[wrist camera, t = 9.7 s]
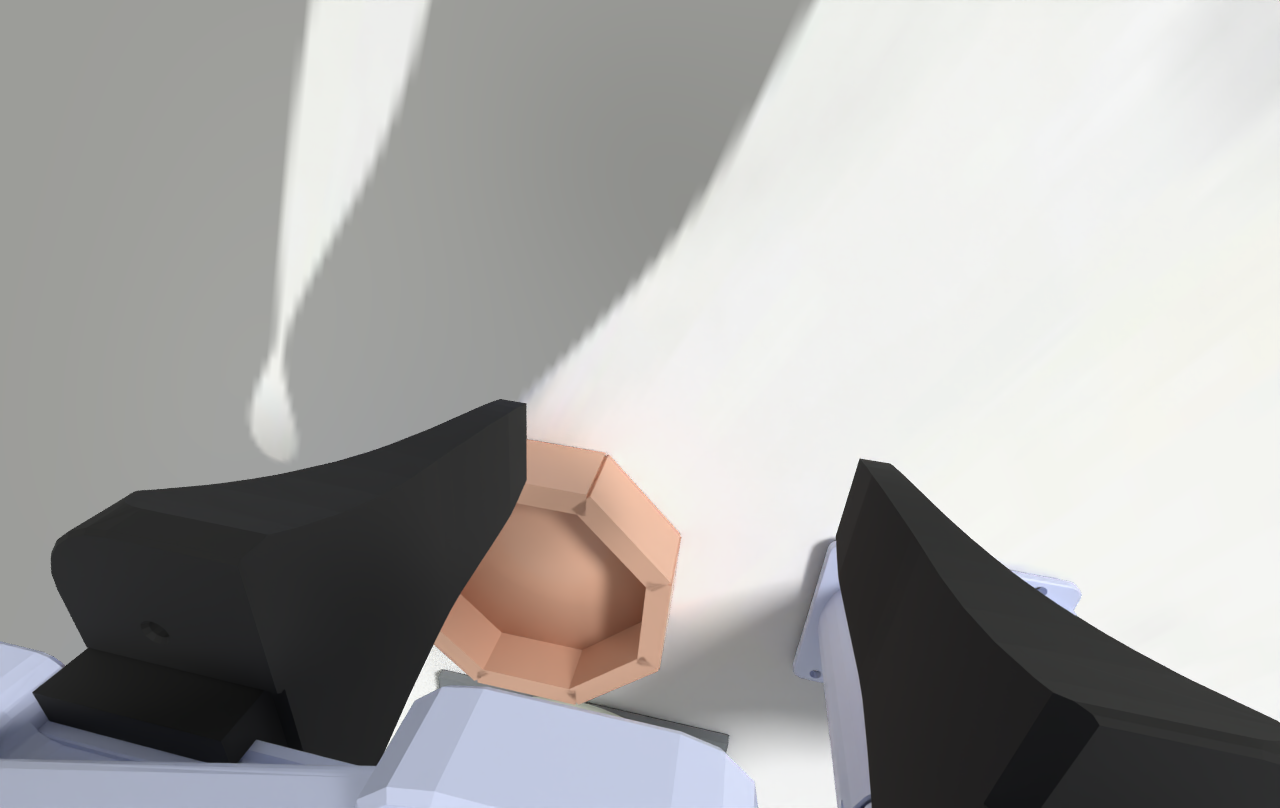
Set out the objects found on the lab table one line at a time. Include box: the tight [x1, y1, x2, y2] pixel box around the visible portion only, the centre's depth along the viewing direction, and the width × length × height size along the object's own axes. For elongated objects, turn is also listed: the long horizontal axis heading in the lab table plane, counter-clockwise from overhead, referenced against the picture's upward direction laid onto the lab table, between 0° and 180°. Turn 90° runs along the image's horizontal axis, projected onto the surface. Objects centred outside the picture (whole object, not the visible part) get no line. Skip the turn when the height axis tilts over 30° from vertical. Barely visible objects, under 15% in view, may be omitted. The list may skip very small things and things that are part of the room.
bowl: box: [434, 439, 681, 705], centre depth 26 cm, size 12×12×3 cm
